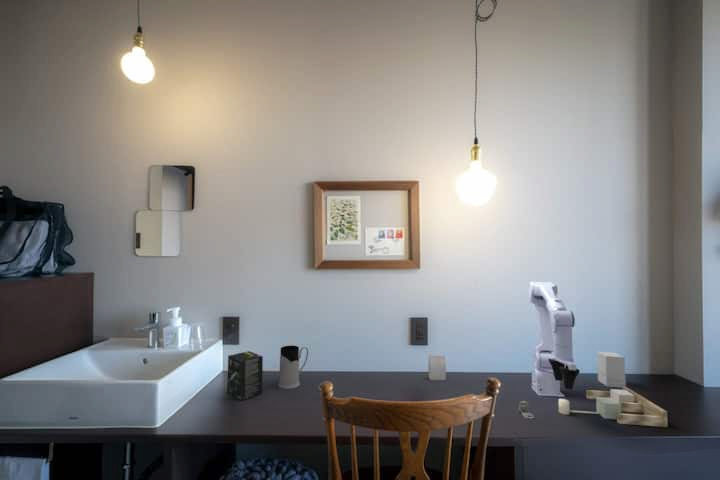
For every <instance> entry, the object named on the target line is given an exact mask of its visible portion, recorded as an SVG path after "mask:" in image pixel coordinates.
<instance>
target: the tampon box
mask: <svg viewBox="0 0 720 480" xmlns="http://www.w3.org/2000/svg"><path fill="white" fill-rule="evenodd" d="M263 358H264V357H263V355H260V354H258V353H255V352H252V351H249V350H248V351H244V352H239V353H235V354H230V355H228V358H227V385H226V387H227V391H226V393H227V394H228V395H229V396H231V397H232V398H234V399H235V400H237V401H240V402H241V401H245V400H247V399H251V398H254V397H257V396H260V395H262V394H263V392H264V391H263V377H264V376H263V373H264V372H263V371H264V370H263V369H264V368H263V366H264V365H263V364H264V361H263V360H264V359H263Z"/></svg>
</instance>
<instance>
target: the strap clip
mask: <svg viewBox="0 0 720 480" xmlns="http://www.w3.org/2000/svg"><path fill="white" fill-rule="evenodd" d="M524 404H525V405H524ZM513 408H514V410H516V412H518V413H520V414H521V416H522V417H524V418H525V419H526V420H535V416H534V415H533V414H532V413H531V412H529V402H528V401H526V400H521V401H519V406H514V407H513Z"/></svg>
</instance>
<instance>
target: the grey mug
mask: <svg viewBox="0 0 720 480" xmlns="http://www.w3.org/2000/svg"><path fill="white" fill-rule="evenodd" d="M304 349H305V350H306V356H305V360H304V363H303V364H302V366H301V368H300V359H301V357H302V356H301V355H302V351H303V350H304ZM279 355H280V356H279V381H278V385H277V386H278V388H280V389H284V390H285V389H286V390H288V389H290V390H292V389H295V388H298V387H299V386H300V380H299V379H300V373H301V372H302V370H303V369H304V367H305V365H306V364H307V360H308V357H309V349H308V348H307V347H306V346H303V347H302V348H301V349H300V347H299V346H298V345H284V346H282V347H280V354H279Z"/></svg>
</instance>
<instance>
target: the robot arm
mask: <svg viewBox="0 0 720 480" xmlns="http://www.w3.org/2000/svg"><path fill="white" fill-rule="evenodd" d="M528 295H529V296H528V297H529V300H530V303H532V304H534V307H535V309H536V310H535V311H536V317H537V318H536V319H537V325H538V334H539V342H540V343H539V345H538V344H537V346H535V347H534V349H533V362H534V365H535V367H536V368H533V369H532V370H531V387H530V388H531V389H532V390H533V391H534V392H535V393H536V394H537V395H538V396H543V397H546V396H547V397H560V398H565V394H564V393H562V392H561V382H562V381H563V387H564V388H565V389H566V390H573V389H574V385H575V381H576V379H577V376H578V375H579V374H580V369H578V368H577V364H576V362H575V360H574V358H573V357H574V356H573V328H574V327H575V325H576V324H575V323H576V318H575V314H574V312H573V310H572V309H571V310H570V309H567V307H566V306H565V304H564V302H563V301H562V300H561V299H559V298H558V297H557V295H558V286H557V283H556V282H555V281H546V282H545V281H530V282H529V284H528Z"/></svg>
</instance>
